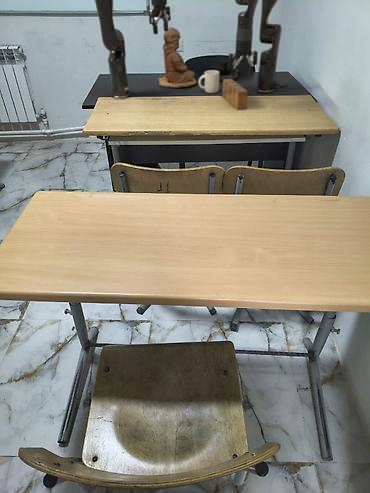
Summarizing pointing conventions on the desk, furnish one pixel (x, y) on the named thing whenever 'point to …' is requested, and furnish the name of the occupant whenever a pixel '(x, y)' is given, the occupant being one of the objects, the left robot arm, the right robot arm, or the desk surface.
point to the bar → (234, 94)
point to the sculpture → (175, 63)
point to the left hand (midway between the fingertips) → (161, 32)
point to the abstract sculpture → (224, 71)
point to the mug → (210, 81)
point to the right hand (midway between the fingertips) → (241, 75)
